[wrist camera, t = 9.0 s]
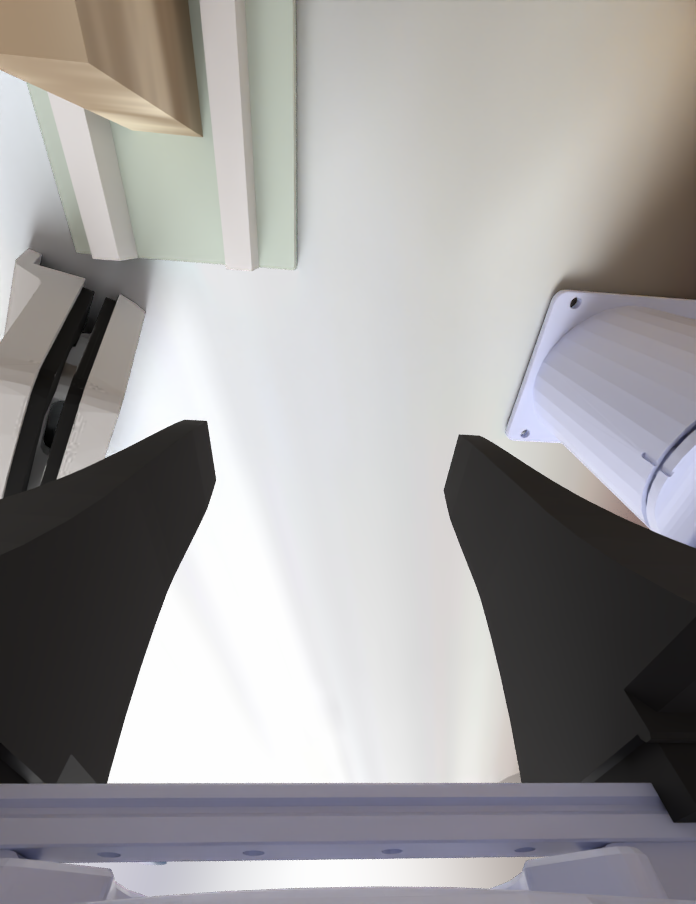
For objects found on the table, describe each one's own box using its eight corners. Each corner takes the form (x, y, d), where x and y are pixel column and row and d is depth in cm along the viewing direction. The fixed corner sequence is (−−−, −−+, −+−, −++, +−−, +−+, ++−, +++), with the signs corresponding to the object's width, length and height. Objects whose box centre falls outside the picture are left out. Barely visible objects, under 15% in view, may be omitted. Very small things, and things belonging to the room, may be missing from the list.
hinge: (29, 239, 15) (-102, 343, 8) (150, 294, 18) (125, 406, 11) (-13, 494, 23) (-102, 662, 16) (78, 506, 25) (36, 653, 19)
